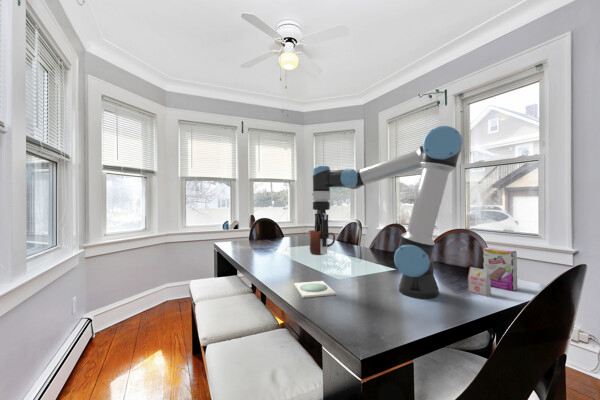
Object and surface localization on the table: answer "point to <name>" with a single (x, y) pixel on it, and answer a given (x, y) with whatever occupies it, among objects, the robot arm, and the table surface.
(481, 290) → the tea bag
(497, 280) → the candy bar box
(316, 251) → the mug
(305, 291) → the card
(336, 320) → the table surface
